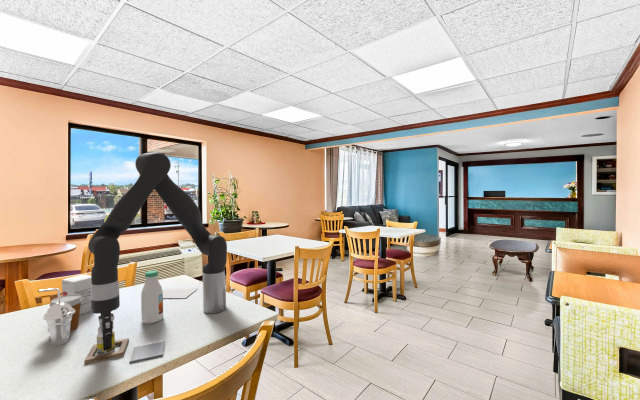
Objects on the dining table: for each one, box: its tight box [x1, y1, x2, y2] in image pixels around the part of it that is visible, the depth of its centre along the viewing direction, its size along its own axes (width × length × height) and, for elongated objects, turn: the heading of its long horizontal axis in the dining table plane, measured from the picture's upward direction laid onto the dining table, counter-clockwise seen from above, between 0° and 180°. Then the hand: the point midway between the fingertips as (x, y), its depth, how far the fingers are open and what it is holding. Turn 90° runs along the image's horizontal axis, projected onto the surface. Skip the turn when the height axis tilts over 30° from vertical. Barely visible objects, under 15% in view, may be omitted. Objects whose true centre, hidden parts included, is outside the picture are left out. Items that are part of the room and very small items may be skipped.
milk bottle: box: [140, 270, 164, 325], centre depth 119 cm, size 8×8×20 cm
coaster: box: [129, 341, 165, 364], centre depth 95 cm, size 9×9×1 cm
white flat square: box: [162, 288, 197, 299], centre depth 145 cm, size 23×25×1 cm
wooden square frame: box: [83, 337, 130, 365], centre depth 96 cm, size 10×10×1 cm
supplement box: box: [61, 274, 92, 316], centre depth 128 cm, size 9×9×15 cm
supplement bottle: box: [96, 326, 116, 355], centre depth 96 cm, size 5×5×8 cm
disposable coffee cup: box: [49, 294, 82, 332], centre depth 111 cm, size 10×10×12 cm
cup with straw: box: [38, 287, 75, 346], centre depth 102 cm, size 8×9×20 cm
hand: (107, 345), depth 96 cm, fingers closed on supplement bottle, 4 cm apart
